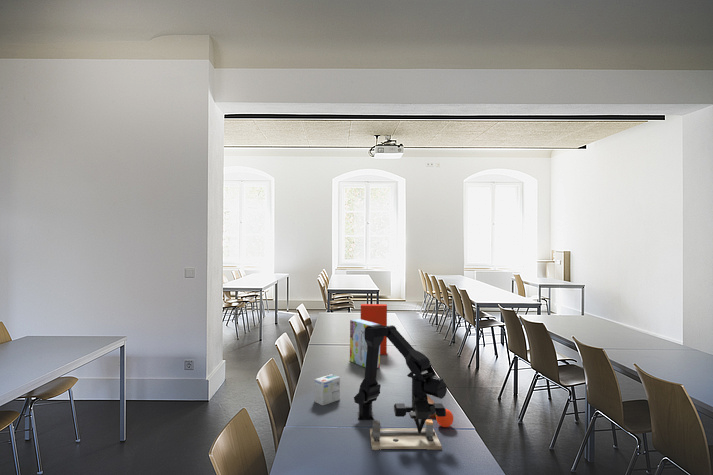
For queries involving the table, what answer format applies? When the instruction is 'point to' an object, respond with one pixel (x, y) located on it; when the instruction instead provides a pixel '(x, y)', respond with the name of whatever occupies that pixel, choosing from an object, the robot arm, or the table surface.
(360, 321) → the snack box
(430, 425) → the slider
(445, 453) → the table surface
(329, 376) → the light bulb box
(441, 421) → the clementine
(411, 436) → the board
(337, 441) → the table surface
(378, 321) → the file binder
